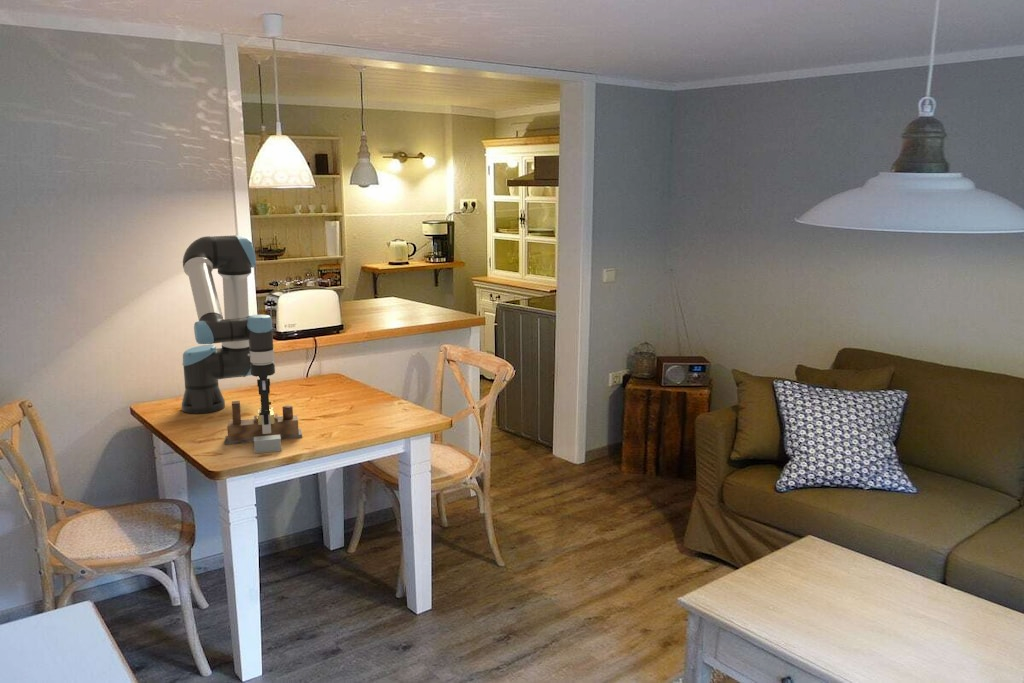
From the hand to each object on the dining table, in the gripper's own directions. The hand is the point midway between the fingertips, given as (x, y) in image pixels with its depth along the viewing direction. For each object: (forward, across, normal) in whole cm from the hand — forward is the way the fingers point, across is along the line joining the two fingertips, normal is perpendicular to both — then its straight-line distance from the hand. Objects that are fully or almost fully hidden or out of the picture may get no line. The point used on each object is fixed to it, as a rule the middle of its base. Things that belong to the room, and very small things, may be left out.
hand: (266, 428), depth 252 cm
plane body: (+3, 0, -1) cm, 3 cm away
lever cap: (-3, 0, 0) cm, 3 cm away
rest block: (+3, +12, 0) cm, 13 cm away
